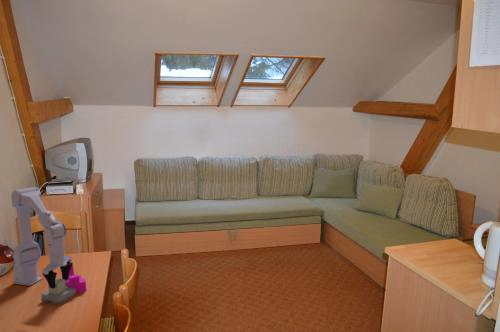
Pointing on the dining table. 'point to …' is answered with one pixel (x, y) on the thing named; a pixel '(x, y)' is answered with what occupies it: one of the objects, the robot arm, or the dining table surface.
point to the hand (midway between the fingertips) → (59, 283)
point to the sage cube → (58, 286)
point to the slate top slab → (58, 295)
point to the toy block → (76, 281)
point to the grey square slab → (57, 302)
